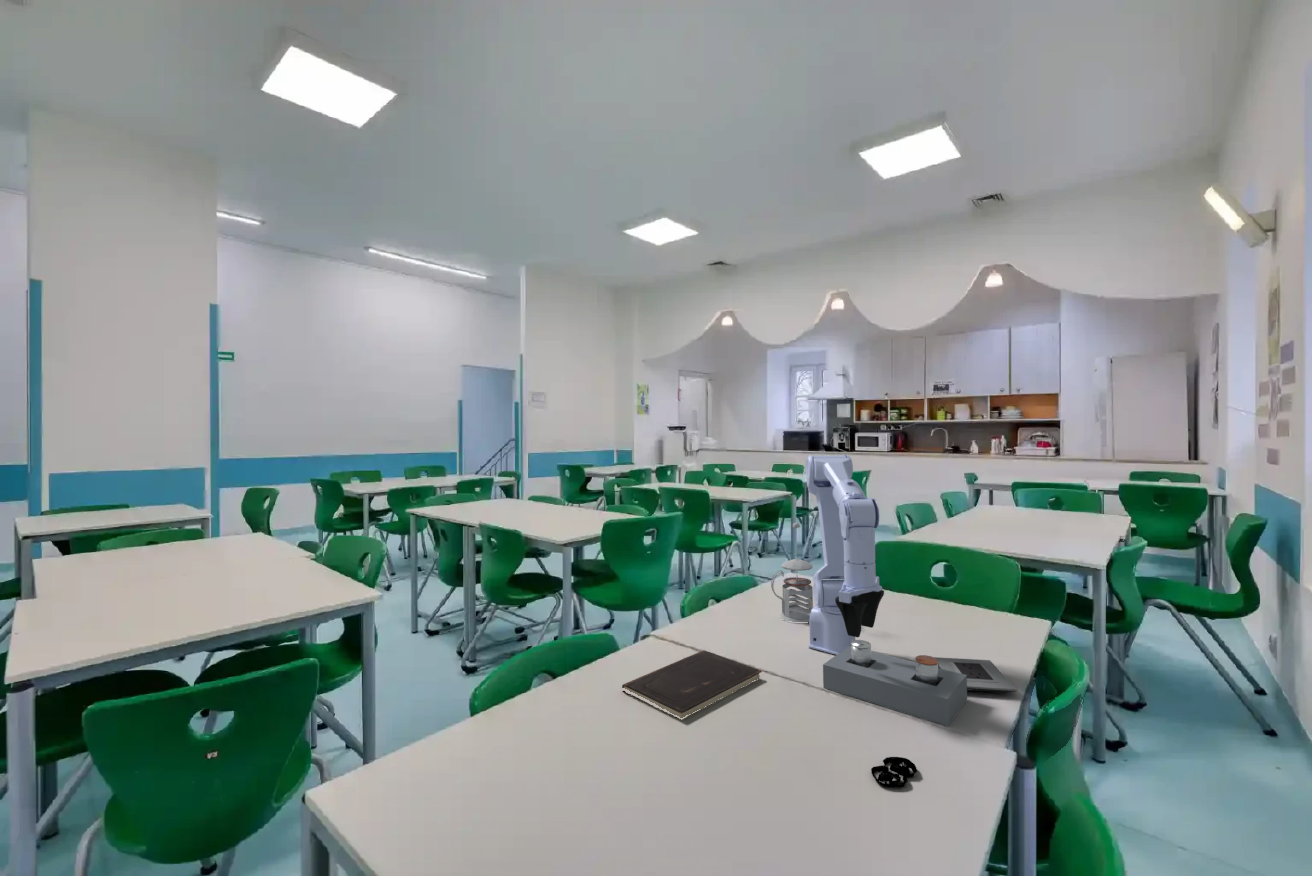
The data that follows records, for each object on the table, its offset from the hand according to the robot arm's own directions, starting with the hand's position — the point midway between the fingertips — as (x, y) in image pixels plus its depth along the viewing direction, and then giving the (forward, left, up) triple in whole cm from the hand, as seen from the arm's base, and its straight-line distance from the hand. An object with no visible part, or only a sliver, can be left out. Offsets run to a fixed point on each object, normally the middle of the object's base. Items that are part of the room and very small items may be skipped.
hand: (860, 631), depth 110 cm
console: (+6, 0, -10) cm, 12 cm away
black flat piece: (+15, -25, -11) cm, 31 cm away
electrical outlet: (+16, +15, -11) cm, 25 cm away
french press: (-29, +27, -11) cm, 41 cm away
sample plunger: (0, 0, -7) cm, 7 cm away
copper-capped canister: (+12, 0, -7) cm, 14 cm away
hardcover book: (-25, -21, -11) cm, 35 cm away
